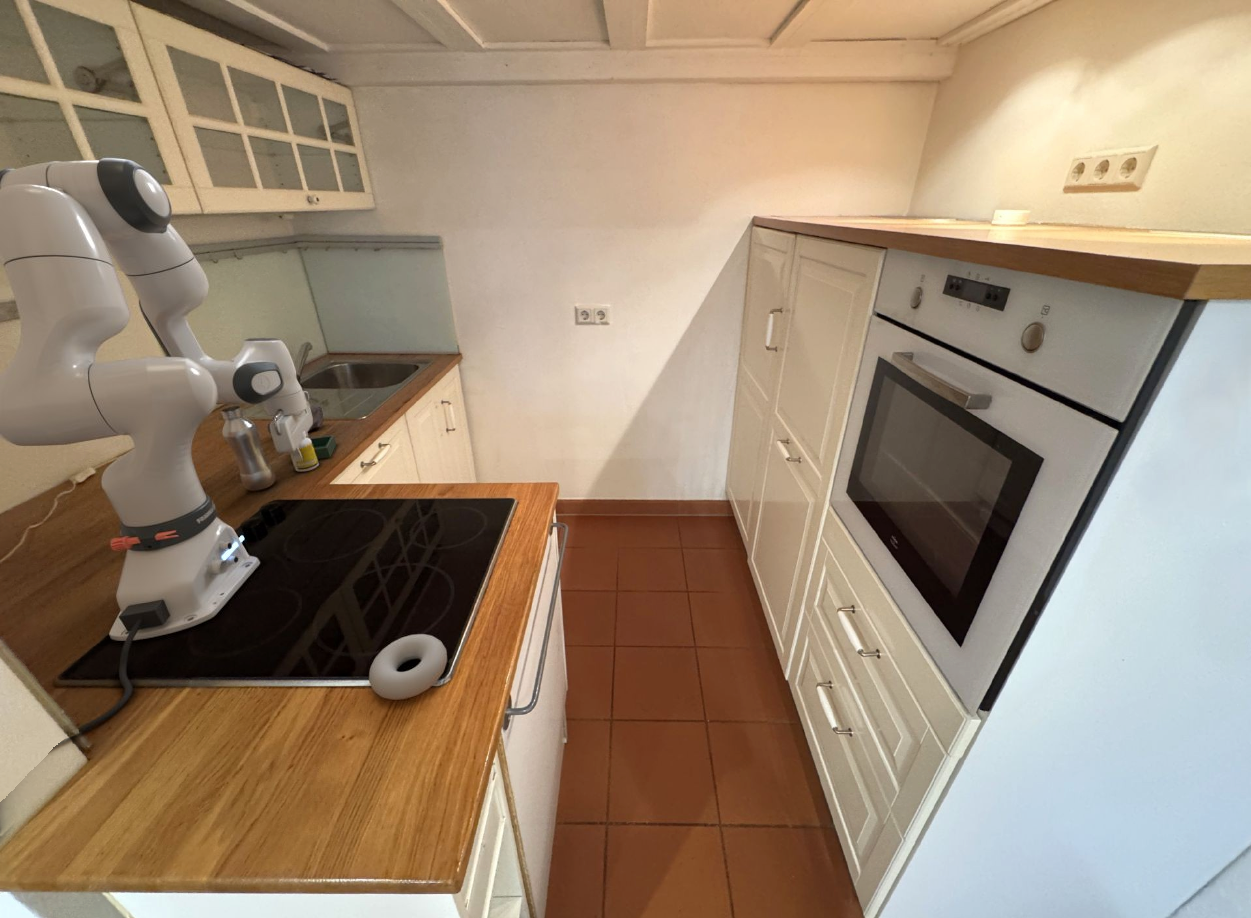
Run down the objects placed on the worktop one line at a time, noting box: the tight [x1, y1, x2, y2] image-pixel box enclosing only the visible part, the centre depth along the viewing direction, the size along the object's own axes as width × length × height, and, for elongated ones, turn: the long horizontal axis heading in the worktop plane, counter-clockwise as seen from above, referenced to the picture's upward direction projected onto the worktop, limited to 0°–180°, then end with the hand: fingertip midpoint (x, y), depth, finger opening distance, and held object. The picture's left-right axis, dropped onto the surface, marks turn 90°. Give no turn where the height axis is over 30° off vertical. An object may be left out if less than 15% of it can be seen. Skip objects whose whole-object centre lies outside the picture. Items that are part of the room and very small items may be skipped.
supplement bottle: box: [288, 431, 320, 473], centre depth 127 cm, size 5×5×10 cm
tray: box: [289, 434, 337, 464], centre depth 136 cm, size 9×9×3 cm
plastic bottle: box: [220, 405, 276, 492], centre depth 116 cm, size 6×7×20 cm
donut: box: [368, 633, 448, 701], centre depth 68 cm, size 10×4×10 cm
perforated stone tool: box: [267, 405, 324, 435], centre depth 149 cm, size 15×5×7 cm, turn 127°
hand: (303, 454), depth 127 cm, fingers closed on supplement bottle, 5 cm apart
